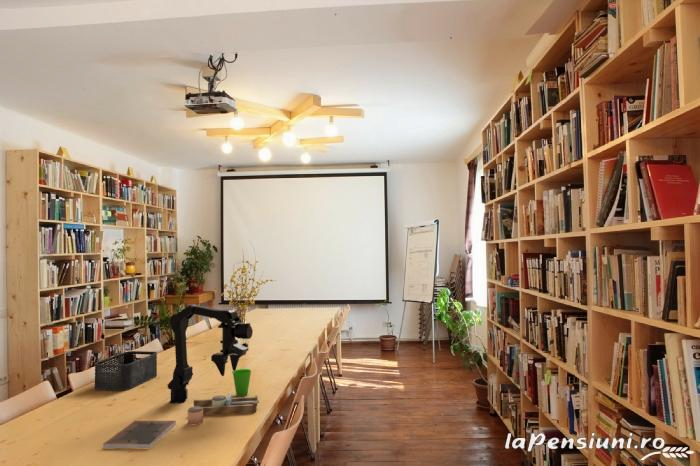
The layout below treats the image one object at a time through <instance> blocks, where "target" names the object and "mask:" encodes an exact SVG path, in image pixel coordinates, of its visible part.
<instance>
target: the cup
mask: <svg viewBox="0 0 700 466" xmlns="http://www.w3.org/2000/svg"><path fill="white" fill-rule="evenodd" d="M251 373H252V370H251V369H249V368H239V369H237V368H236V370H235V371H233V370H232V373H231V374H232V375H233V382H234V388H235V395H236V396H237V397H244V396H245V397H246V396H247V395H248V394H249V393H248V392H249V387H250V380H251V379H250V378H251Z"/></svg>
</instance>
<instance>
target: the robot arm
mask: <svg viewBox="0 0 700 466" xmlns="http://www.w3.org/2000/svg"><path fill="white" fill-rule="evenodd" d="M194 315H197V316H201V317H207V318H212V319H215V320H216V321H218V322H220V324H219V325H218V326H217V328H218V329H222V332H221V335H222V337H221V338H222V340H220V341H219V342H220V343H219V344H222V345H221V349H220V350H219V352H216V353H212V355H211V357H210V360H211V362H212V363H213V364H215V366H216V367H217V370H218V372H219V373H220V375H221V377H224V376H225V372H226V364H227V363H228V362H229V361H228V358H229V359H230V364H231V368H232V372H233V371H235V370H237V367H238V364H239V361H240V359H241V357H243V356H246V354H247V351H249V343H247V342H243V343H239V340H238V339H243V340H247V339H248V340H250V339H251V338H252V337H253V331H254V330H253V328H252V326H251V323H250V322H245V323H243V321H242V320H241V318H240V317H239V315H238V312H237V310H236V309H234V308H222V309H219V308H213V307H207V306H203V305H198V304H195V303H193V304H189V305H187V306H186V307H185V308H184V309H181V310H180V311H179V312H177V313H175V314H171V316H170V317H169V324H170V329H171V330H172V332H173V334H174V351H175V366H174V370H173V373H172V379H171V381H169V382H168V383H167V389H168V390H170V400H169V404H173V403H175V404H176V403H184V402H186V400H187V399H188V396H189V395H188V393H189V392H188V391H189V389H188V388H187V386H188V385H189V383H190V381H191V380H192V378H193V376H194V372H193V366H190V365H189V364H188V353H187V349H188V348H187V335H186V334H187V333H186V332H187V329H188V327H189V321H190V319H192V318H193V316H194Z"/></svg>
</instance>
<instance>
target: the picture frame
mask: <svg viewBox="0 0 700 466" xmlns="http://www.w3.org/2000/svg"><path fill="white" fill-rule="evenodd" d="M175 425H176V426H177V421H176V420H134V421H132V422H130V423H129V424H128V425H126V426H125V427H124V428H123V429H122V430H120V431H118V432H117V433H116V434H115V435H113V436H112V437H110V438H109V439H107V440H106V441H105V442H104V443H102V449H103V450H109V449H108V448H122V449H123V448H124V449H123V450H126V449H125V448H150V449H152V448H153V447H154V446H155V445H156V444H157V443H158V442H159V441H160V440H161V439H162V438H163V437H165V436H166V435H167V434H168V433H169V432H170V431H171V430H172V429H173V428H175V427H176V426H175ZM168 431H169V432H168ZM167 432H168V433H167ZM166 433H167V434H166ZM165 434H166V435H165ZM164 435H165V436H164ZM159 439H160V440H159ZM158 440H159V441H158ZM157 441H158V442H157ZM156 442H157V443H156ZM155 443H156V444H155ZM154 444H155V445H154ZM153 445H154V446H153ZM122 449H121V450H122Z"/></svg>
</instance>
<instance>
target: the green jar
mask: <svg viewBox="0 0 700 466" xmlns="http://www.w3.org/2000/svg"><path fill="white" fill-rule="evenodd" d="M211 399H212V407H214V406H226V395H222V394H221V395H214V396H213V397H212V398H211Z"/></svg>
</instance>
